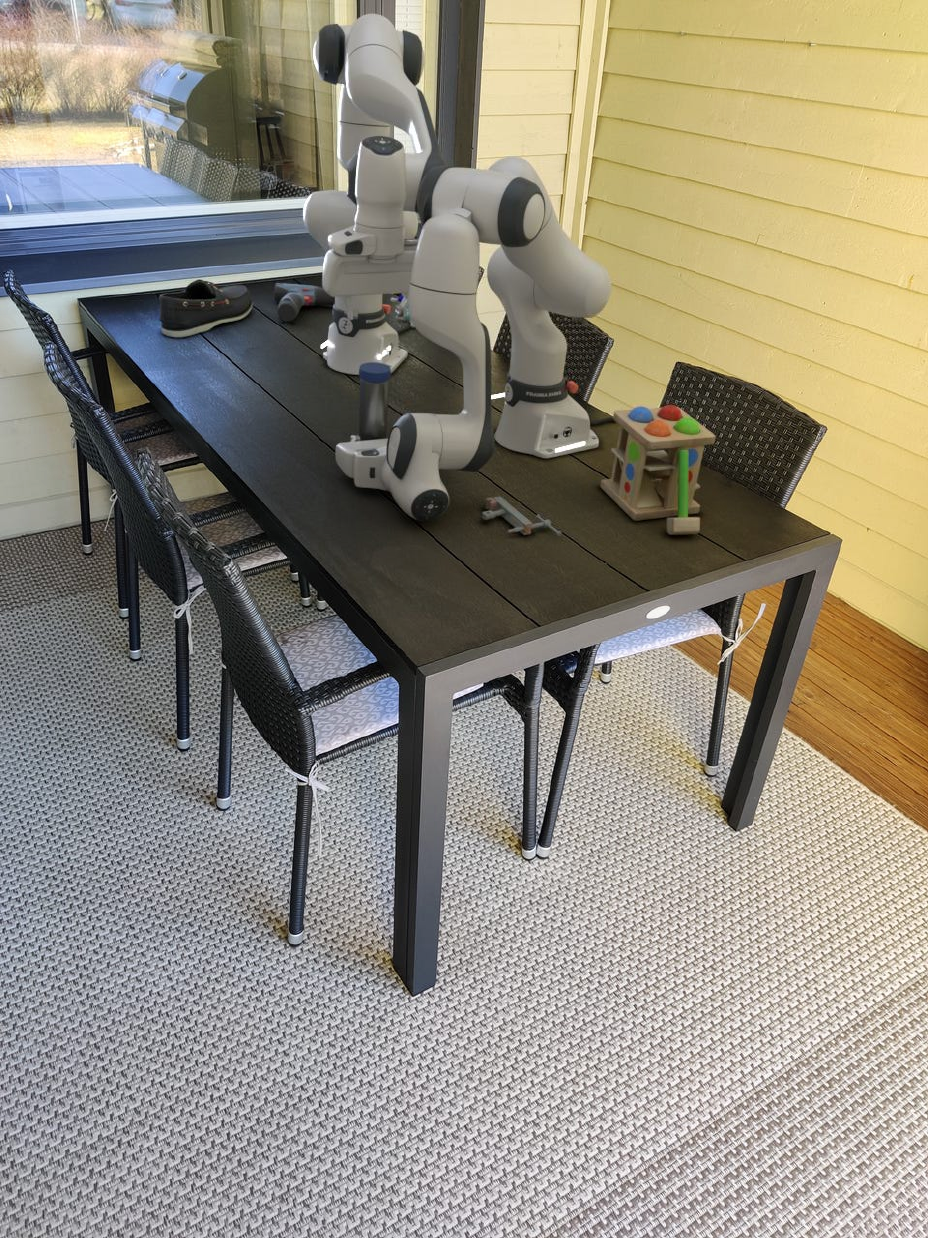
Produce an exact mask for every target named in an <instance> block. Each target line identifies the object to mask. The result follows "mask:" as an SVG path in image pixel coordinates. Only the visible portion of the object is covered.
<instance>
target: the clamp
mask: <svg viewBox="0 0 928 1238" xmlns="http://www.w3.org/2000/svg"><path fill="white" fill-rule="evenodd" d="M500 516H501V517H502V518H503V519H504V520H505V521H506V522H508V523H509V524H510V525H511V526H512V527H513V528H511V529H507V534H511V533H518V532H519V533H521V534H522V535H523V536H525V535H526V536H527V535H530V534H532V530H534V529H537V528H543V529H545V528H548V529H550V530H551V531H553V532H554V534H556V536H557V537H561V535H562V534H563V533H562V531H560V530H558V529H556V528H555V527H554V526H552V521H551V520H550V519H544V518H542V517H541V515H540V514H539V513H538V514H536V516H535V519H536V520H539V521H540V522H537V523H536V522H535V523H533V522H532V521H531V520H529V518H527V517H526V516H524V515H523V514H522V512H520V511H519V510H517V509H516V508H515V507H514V506H513V505H512V504H510V503H509V502H508V501H507V500H506V499H505V498H503V497H502V496H495V497H492V496H490V497H486V499H485V511H482V513H481V518H482V519H483V520H484V521H488V520H493V519H495V518H496V517H500Z"/></svg>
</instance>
